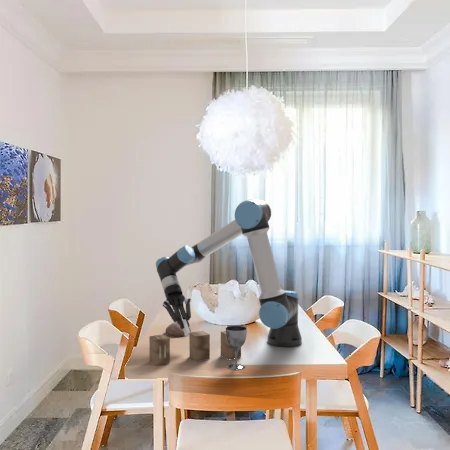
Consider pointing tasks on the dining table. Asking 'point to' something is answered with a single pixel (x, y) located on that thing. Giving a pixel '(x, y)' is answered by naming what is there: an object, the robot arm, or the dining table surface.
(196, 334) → the unmarked block
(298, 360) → the dining table surface
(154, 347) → the marked block 1
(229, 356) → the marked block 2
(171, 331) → the decorative stone
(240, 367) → the wine glass
